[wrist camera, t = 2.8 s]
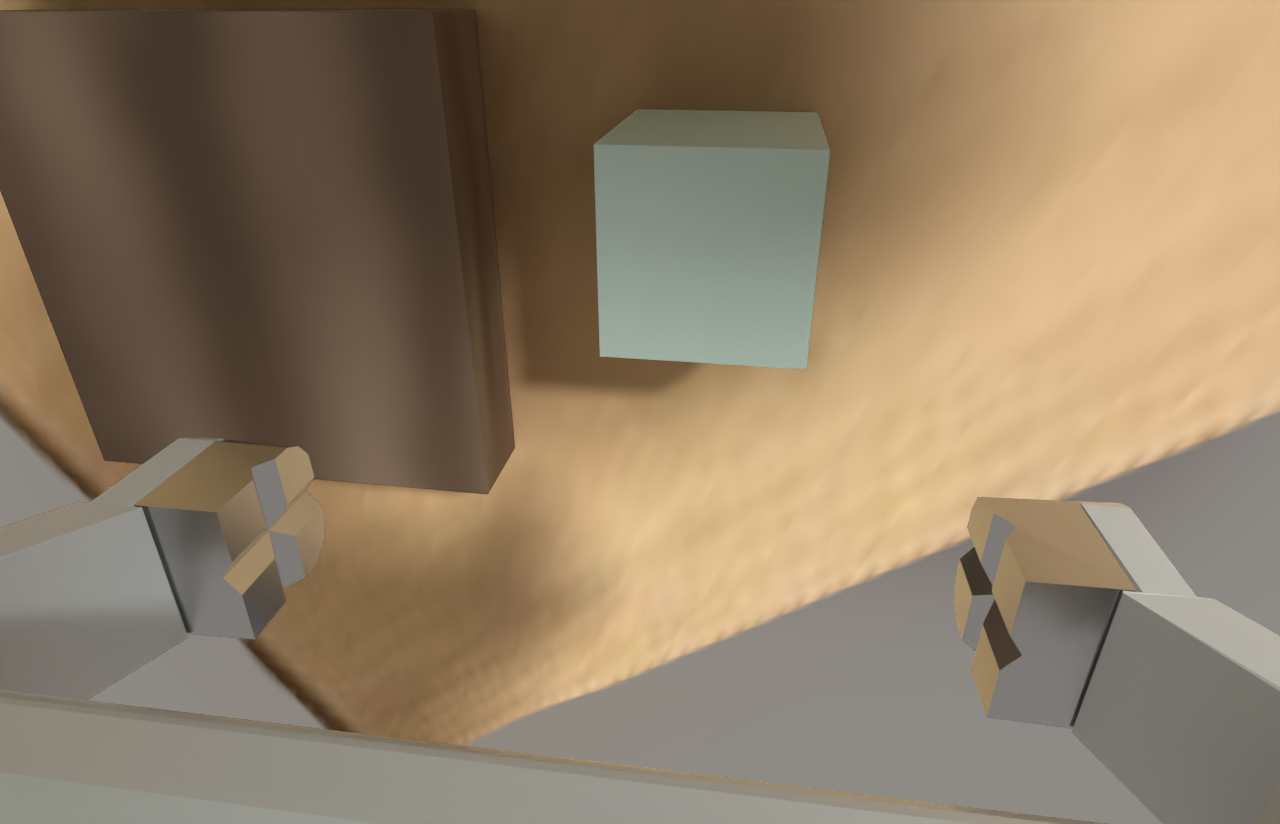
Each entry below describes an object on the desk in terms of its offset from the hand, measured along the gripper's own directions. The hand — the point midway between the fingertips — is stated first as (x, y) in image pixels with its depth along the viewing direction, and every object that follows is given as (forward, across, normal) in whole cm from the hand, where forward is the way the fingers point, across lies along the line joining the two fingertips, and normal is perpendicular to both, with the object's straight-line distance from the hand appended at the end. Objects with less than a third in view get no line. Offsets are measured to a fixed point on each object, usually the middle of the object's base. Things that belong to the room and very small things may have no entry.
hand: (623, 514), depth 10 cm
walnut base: (+16, +14, +2) cm, 21 cm away
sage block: (+15, 0, 0) cm, 15 cm away
